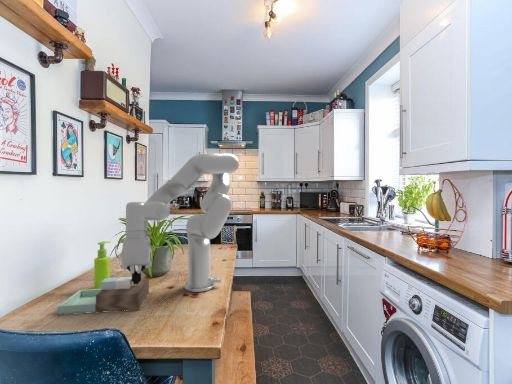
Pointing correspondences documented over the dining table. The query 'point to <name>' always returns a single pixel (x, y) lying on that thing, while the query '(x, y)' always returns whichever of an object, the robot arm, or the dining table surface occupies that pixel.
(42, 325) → the dining table surface
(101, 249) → the soap dispenser
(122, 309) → the brown wooden block
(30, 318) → the dining table surface
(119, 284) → the cream square block
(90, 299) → the box
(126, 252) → the robot arm
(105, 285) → the pale blue square block
